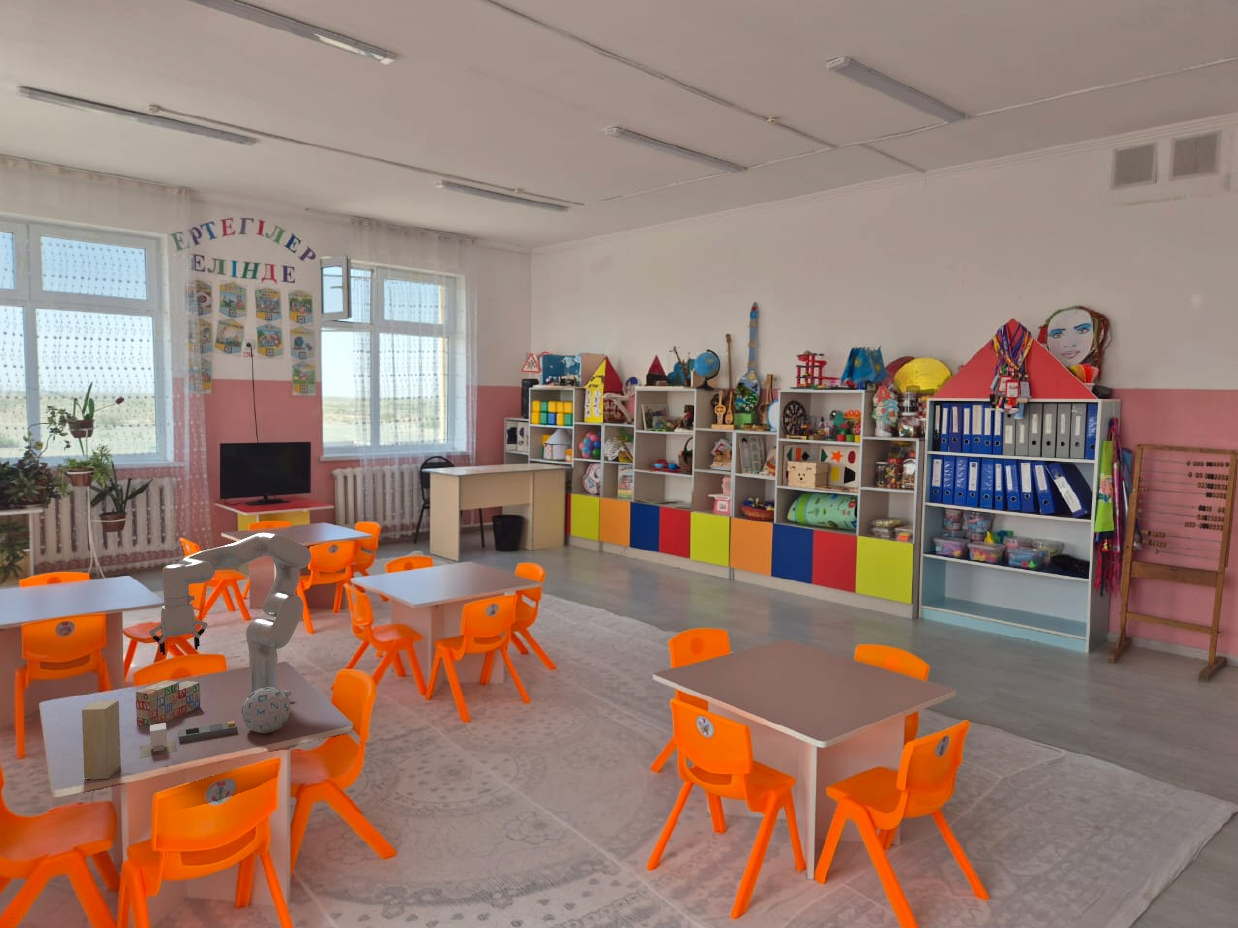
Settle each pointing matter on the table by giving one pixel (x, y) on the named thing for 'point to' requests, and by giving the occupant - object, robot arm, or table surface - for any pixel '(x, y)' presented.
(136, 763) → the table surface
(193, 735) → the power strip
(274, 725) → the puzzle ball
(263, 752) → the table surface
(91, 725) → the tall wooden block
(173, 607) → the robot arm
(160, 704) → the stack of blocks
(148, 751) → the pad
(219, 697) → the table surface
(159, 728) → the block
